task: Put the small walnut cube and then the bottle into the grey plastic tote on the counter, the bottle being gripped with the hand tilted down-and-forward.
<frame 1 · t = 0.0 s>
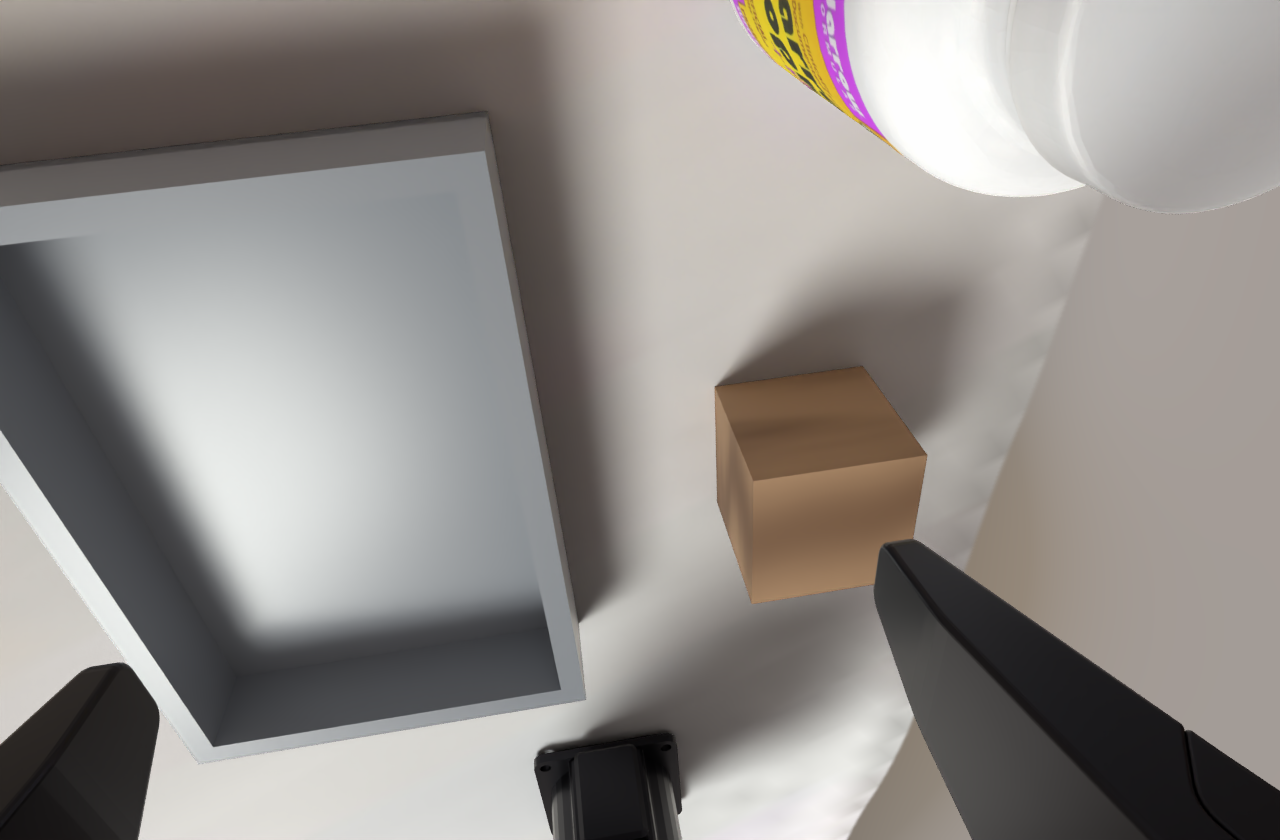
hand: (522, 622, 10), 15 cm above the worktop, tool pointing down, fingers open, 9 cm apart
walnut cube: (785, 435, 28), on the worktop
tote: (330, 454, 25), on the worktop
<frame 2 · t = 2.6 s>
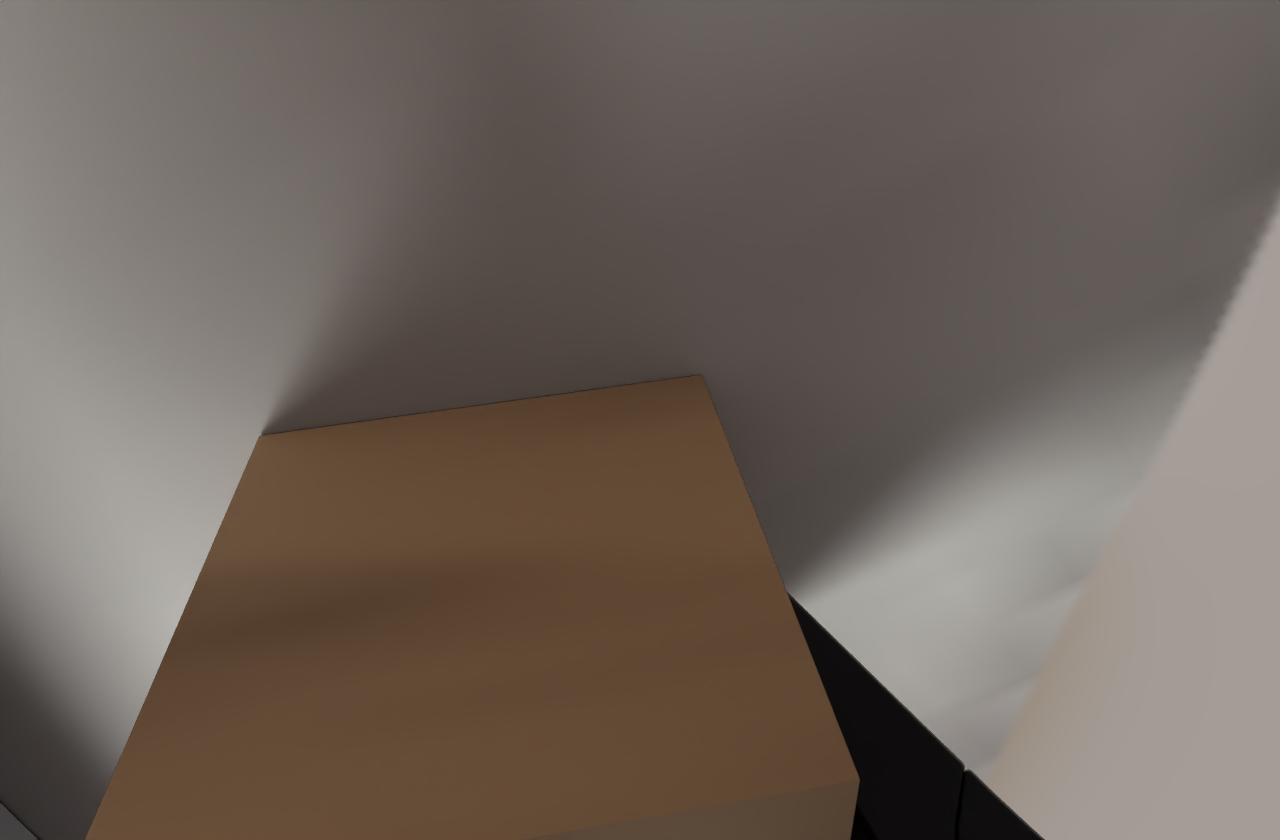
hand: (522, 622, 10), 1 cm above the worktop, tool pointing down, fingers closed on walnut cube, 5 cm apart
walnut cube: (520, 561, 10), on the worktop, touching gripper
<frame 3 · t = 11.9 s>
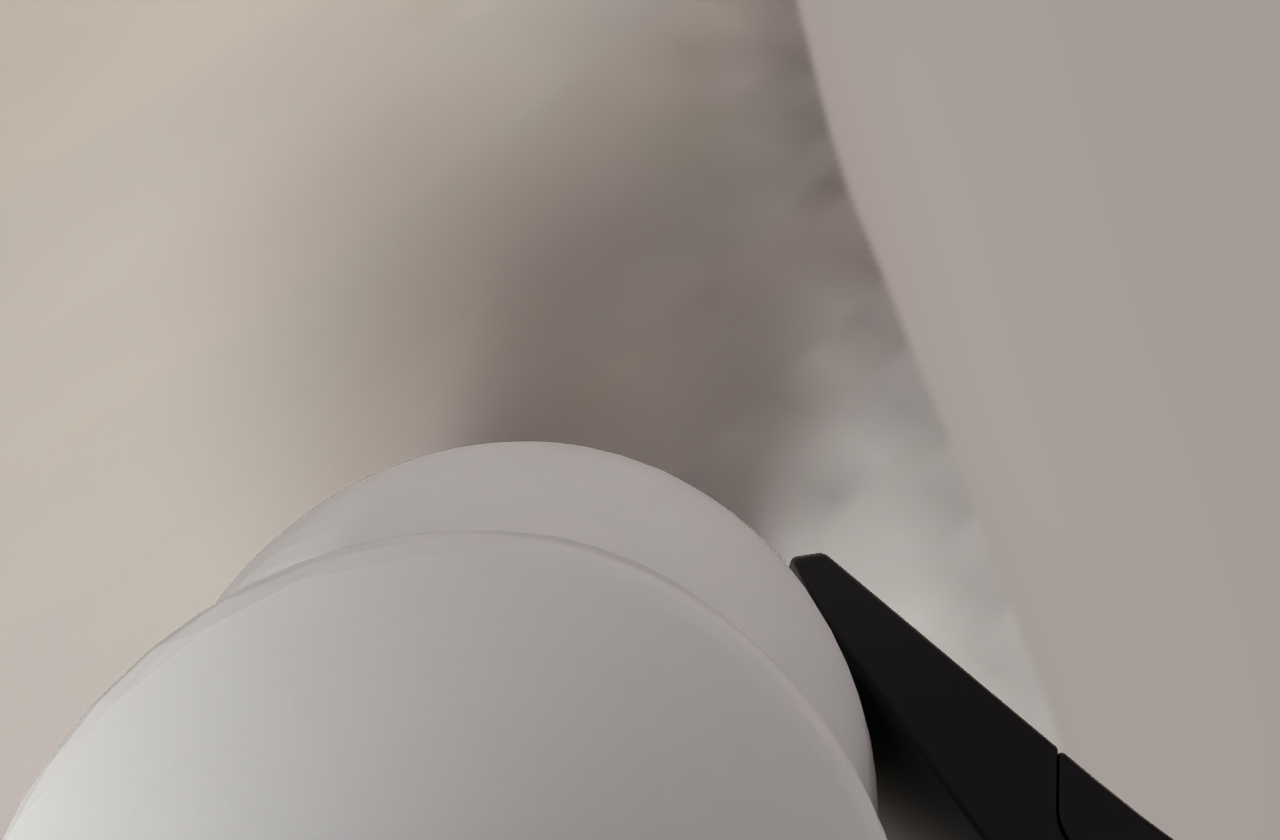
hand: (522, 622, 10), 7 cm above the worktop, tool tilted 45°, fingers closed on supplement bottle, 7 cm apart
supplement bottle: (563, 663, 17), on the worktop, touching gripper
when the fingers open (9 cm above the worktop, at t = 15.9 s): supplement bottle stays where it is, resting on tote.
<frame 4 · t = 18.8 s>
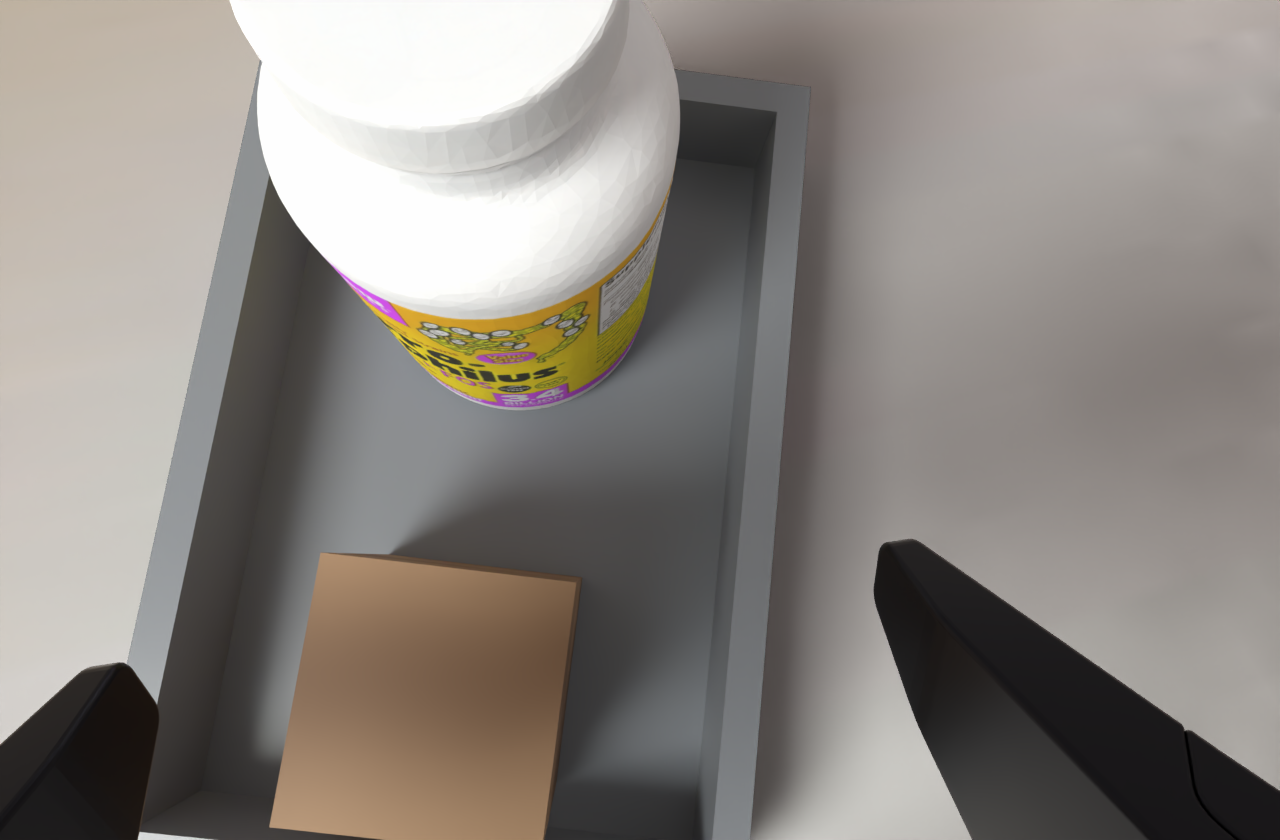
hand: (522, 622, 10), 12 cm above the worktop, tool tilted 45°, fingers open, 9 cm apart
walnut cube: (470, 666, 20), point 1 cm above the worktop, touching tote
supplement bottle: (525, 300, 22), resting on tote
tote: (504, 456, 21), on the worktop
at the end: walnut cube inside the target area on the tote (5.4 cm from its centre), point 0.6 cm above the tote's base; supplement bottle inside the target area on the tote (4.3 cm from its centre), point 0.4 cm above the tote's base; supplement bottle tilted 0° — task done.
